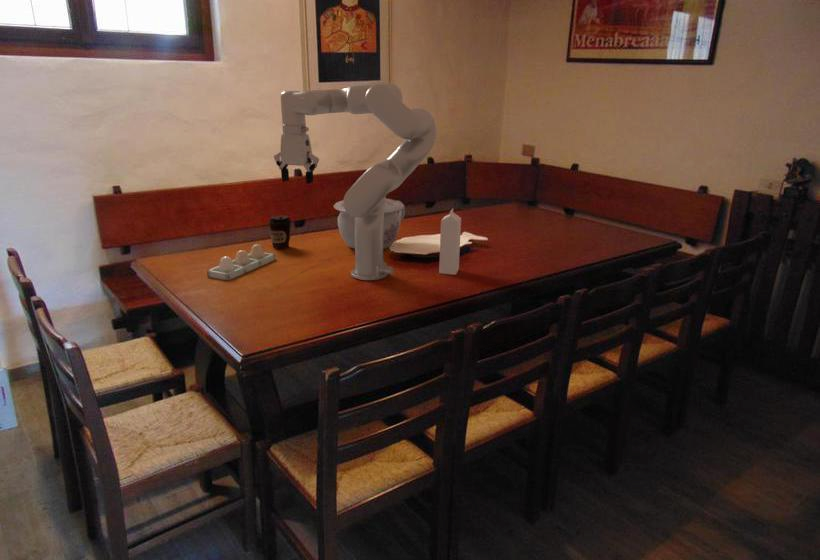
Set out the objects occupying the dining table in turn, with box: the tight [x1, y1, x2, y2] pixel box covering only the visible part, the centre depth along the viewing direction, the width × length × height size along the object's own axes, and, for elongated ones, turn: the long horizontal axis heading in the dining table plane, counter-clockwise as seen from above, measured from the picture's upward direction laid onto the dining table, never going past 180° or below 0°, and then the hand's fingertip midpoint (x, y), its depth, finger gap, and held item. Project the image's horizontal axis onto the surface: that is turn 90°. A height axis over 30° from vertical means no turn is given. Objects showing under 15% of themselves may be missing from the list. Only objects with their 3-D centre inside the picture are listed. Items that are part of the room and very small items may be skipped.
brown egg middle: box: [235, 249, 250, 266], centre depth 202 cm, size 5×5×6 cm
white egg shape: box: [218, 255, 234, 273], centre depth 195 cm, size 5×5×6 cm
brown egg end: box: [249, 243, 265, 260], centre depth 209 cm, size 5×5×6 cm
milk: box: [438, 208, 462, 276], centre depth 202 cm, size 6×6×22 cm
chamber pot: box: [333, 198, 406, 250], centre depth 230 cm, size 28×28×21 cm
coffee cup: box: [268, 214, 292, 251], centre depth 225 cm, size 9×8×13 cm
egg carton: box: [206, 251, 276, 281], centre depth 205 cm, size 25×17×3 cm
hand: (297, 182), depth 199 cm, fingers open, 9 cm apart
